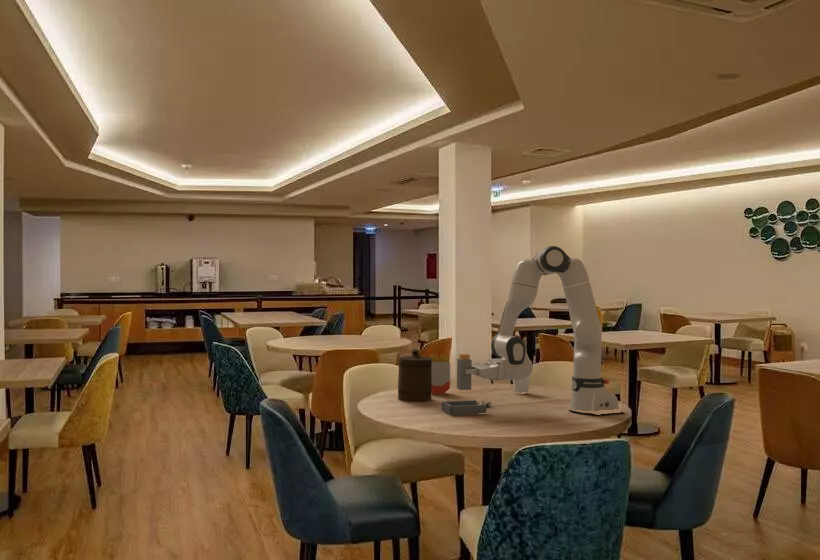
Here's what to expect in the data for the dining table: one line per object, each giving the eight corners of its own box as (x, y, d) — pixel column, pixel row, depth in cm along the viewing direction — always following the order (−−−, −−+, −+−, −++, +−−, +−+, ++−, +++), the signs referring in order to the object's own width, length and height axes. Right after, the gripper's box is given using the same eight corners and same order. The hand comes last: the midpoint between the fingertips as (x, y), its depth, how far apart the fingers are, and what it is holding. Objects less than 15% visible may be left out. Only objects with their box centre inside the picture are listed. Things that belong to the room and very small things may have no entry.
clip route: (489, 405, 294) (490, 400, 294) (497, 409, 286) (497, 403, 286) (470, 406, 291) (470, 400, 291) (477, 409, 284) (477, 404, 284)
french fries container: (427, 391, 325) (427, 353, 324) (450, 392, 323) (450, 354, 323) (425, 393, 320) (426, 354, 320) (448, 394, 318) (449, 355, 318)
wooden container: (417, 394, 316) (418, 346, 316) (438, 400, 304) (439, 350, 304) (391, 397, 307) (392, 348, 307) (411, 403, 295) (412, 351, 295)
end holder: (475, 408, 286) (475, 400, 285) (486, 414, 275) (486, 405, 275) (441, 410, 281) (441, 401, 281) (450, 415, 271) (450, 406, 271)
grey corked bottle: (467, 387, 281) (467, 353, 281) (471, 389, 277) (471, 354, 277) (456, 388, 280) (457, 353, 280) (460, 390, 275) (461, 355, 275)
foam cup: (507, 392, 328) (507, 364, 328) (523, 391, 332) (523, 364, 332) (518, 395, 319) (518, 367, 319) (534, 394, 323) (535, 366, 323)
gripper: (484, 358, 292) (453, 359, 288) (504, 365, 272) (471, 365, 268) (484, 373, 292) (453, 374, 288) (504, 381, 272) (471, 382, 268)
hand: (462, 370), depth 278 cm, fingers closed on grey corked bottle, 4 cm apart
